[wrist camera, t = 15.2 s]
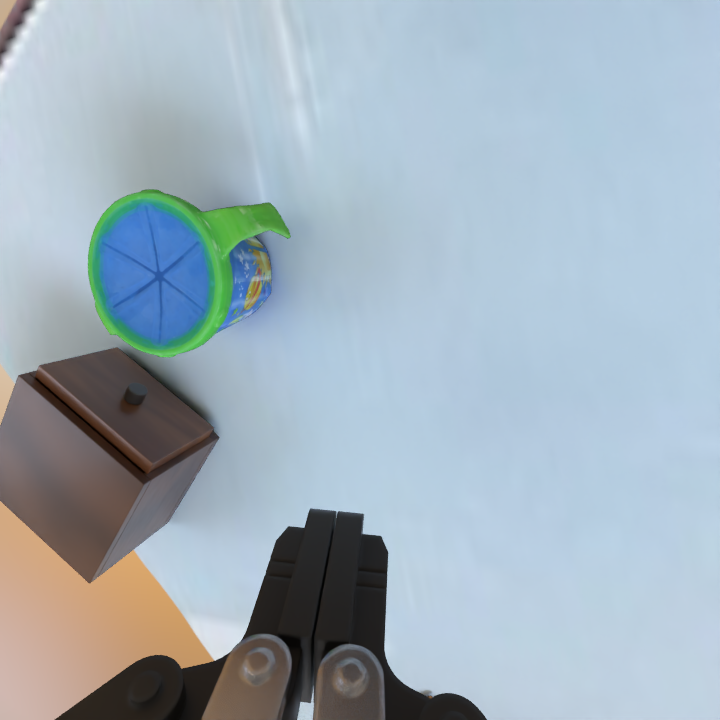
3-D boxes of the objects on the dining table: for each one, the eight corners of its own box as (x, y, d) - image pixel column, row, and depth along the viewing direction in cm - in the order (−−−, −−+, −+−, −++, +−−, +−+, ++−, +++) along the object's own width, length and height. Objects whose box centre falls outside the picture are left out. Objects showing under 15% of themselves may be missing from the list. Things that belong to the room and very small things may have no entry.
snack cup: (286, 168, 35) (205, 136, 26) (339, 294, 36) (279, 306, 27) (146, 252, 41) (38, 251, 32) (195, 359, 42) (104, 389, 32)
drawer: (121, 337, 43) (43, 353, 36) (220, 418, 41) (158, 452, 34) (79, 432, 47) (1, 464, 40) (166, 508, 46) (102, 556, 39)
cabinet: (116, 351, 45) (18, 374, 36) (219, 437, 43) (143, 484, 34) (75, 441, 49) (-21, 482, 40) (168, 522, 47) (89, 584, 38)
